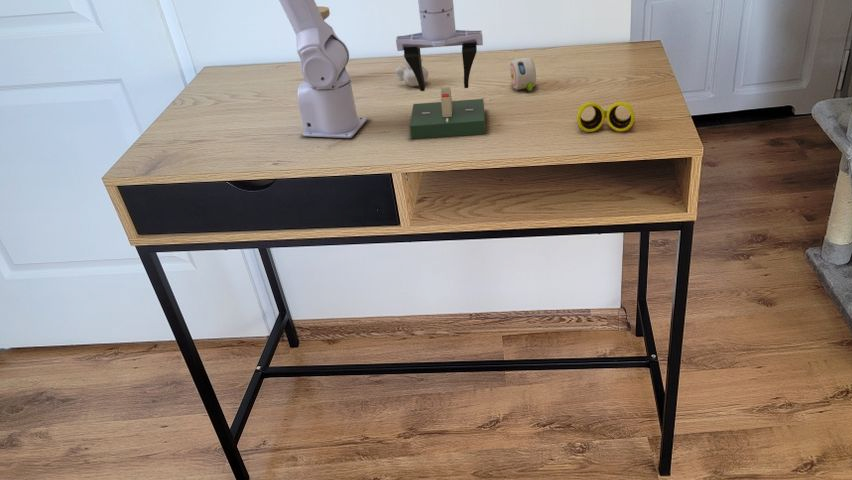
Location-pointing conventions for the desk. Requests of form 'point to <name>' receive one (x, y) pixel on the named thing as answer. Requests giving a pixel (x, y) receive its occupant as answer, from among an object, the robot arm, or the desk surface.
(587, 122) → the opera glasses
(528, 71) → the roller toy
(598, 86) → the desk surface
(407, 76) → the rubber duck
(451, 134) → the console
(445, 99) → the red topped block
